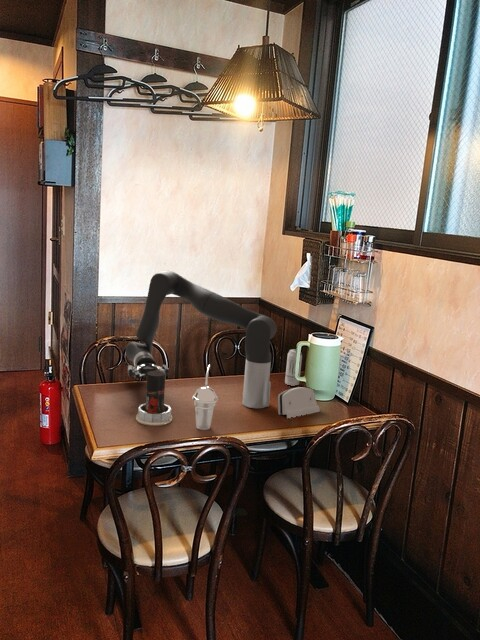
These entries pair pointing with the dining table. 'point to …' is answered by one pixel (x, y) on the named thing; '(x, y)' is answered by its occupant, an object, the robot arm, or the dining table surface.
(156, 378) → the deodorant
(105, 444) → the dining table surface
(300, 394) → the hinge
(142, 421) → the silver bowl
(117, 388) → the dining table surface
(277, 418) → the dining table surface
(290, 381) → the energy drink can
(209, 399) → the cup with straw
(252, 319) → the robot arm
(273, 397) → the dining table surface
